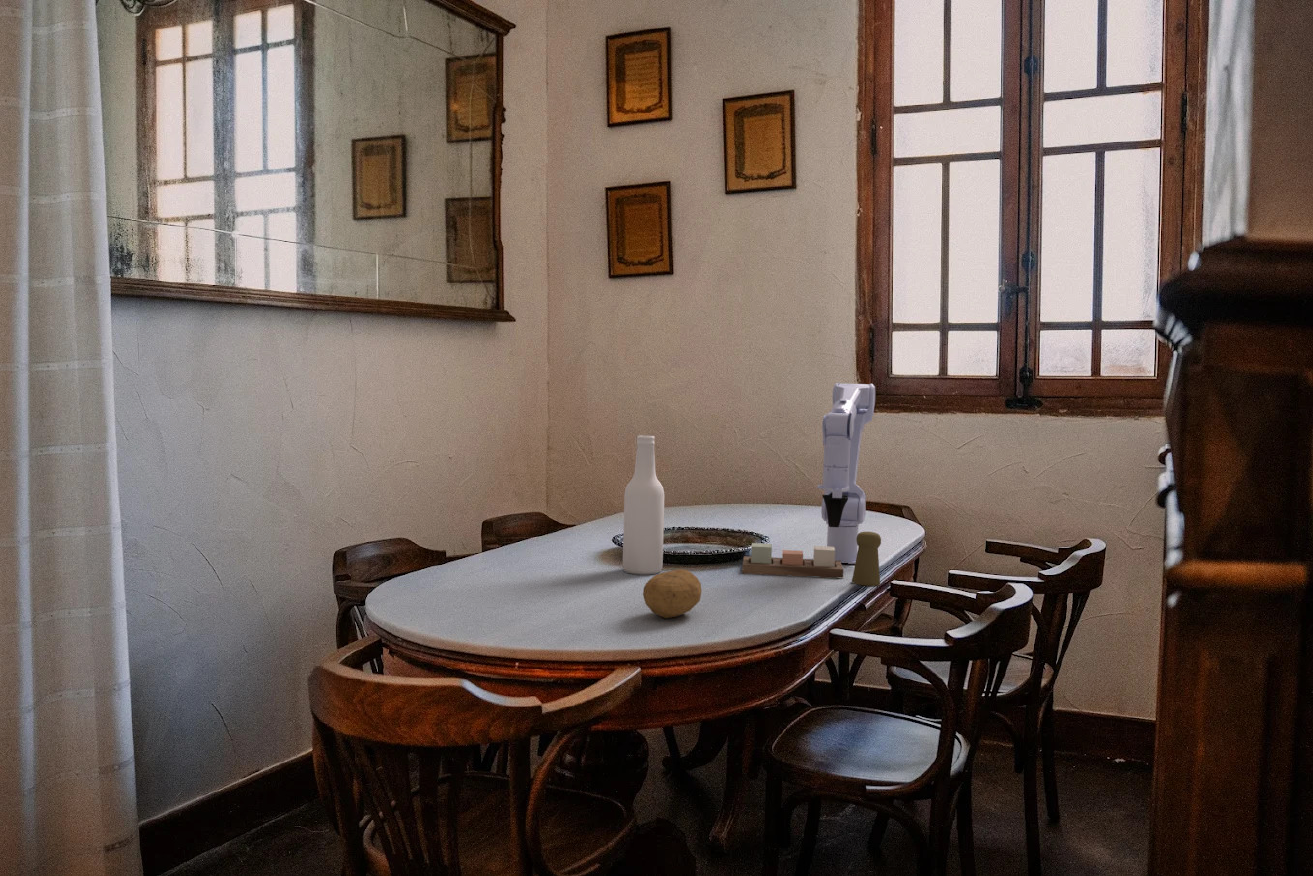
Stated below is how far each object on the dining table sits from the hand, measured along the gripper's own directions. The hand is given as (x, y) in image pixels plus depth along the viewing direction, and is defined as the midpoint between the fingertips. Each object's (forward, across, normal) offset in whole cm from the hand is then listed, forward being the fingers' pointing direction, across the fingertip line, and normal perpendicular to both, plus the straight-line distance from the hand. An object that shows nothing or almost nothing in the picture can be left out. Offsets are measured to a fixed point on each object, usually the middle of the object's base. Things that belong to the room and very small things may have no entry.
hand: (833, 526), depth 231 cm
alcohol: (+11, +8, -42) cm, 44 cm away
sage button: (+9, 0, -16) cm, 18 cm away
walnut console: (+10, 0, -9) cm, 14 cm away
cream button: (+9, 0, -2) cm, 9 cm away
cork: (+11, +9, +7) cm, 16 cm away
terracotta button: (+10, 0, -9) cm, 13 cm away
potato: (+12, +47, -32) cm, 58 cm away
